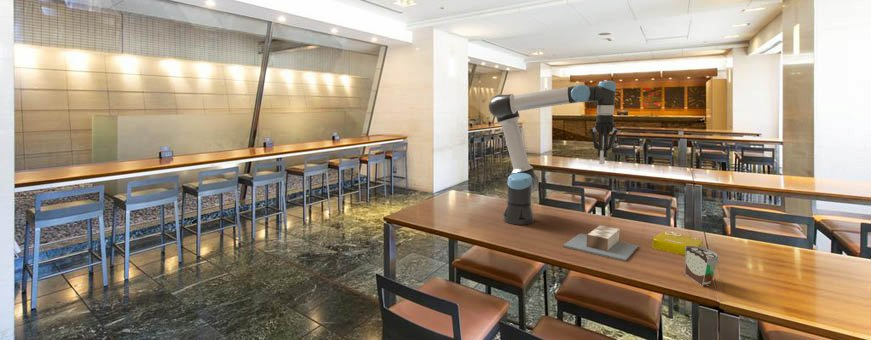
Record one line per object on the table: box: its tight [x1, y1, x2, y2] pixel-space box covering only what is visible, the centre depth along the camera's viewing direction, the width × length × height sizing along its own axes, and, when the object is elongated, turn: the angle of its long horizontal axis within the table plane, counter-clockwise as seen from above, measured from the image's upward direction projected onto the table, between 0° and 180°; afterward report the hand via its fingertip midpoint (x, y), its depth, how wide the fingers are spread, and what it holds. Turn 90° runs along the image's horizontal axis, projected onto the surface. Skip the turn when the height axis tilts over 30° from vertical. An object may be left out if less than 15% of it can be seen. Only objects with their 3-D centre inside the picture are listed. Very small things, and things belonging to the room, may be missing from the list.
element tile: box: [651, 230, 704, 256], centre depth 159 cm, size 15×15×5 cm
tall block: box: [586, 224, 621, 251], centre depth 162 cm, size 8×5×16 cm
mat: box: [562, 232, 639, 263], centre depth 160 cm, size 24×19×1 cm
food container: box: [684, 246, 720, 287], centre depth 129 cm, size 12×6×10 cm, turn 179°
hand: (601, 163), depth 188 cm, fingers closed
